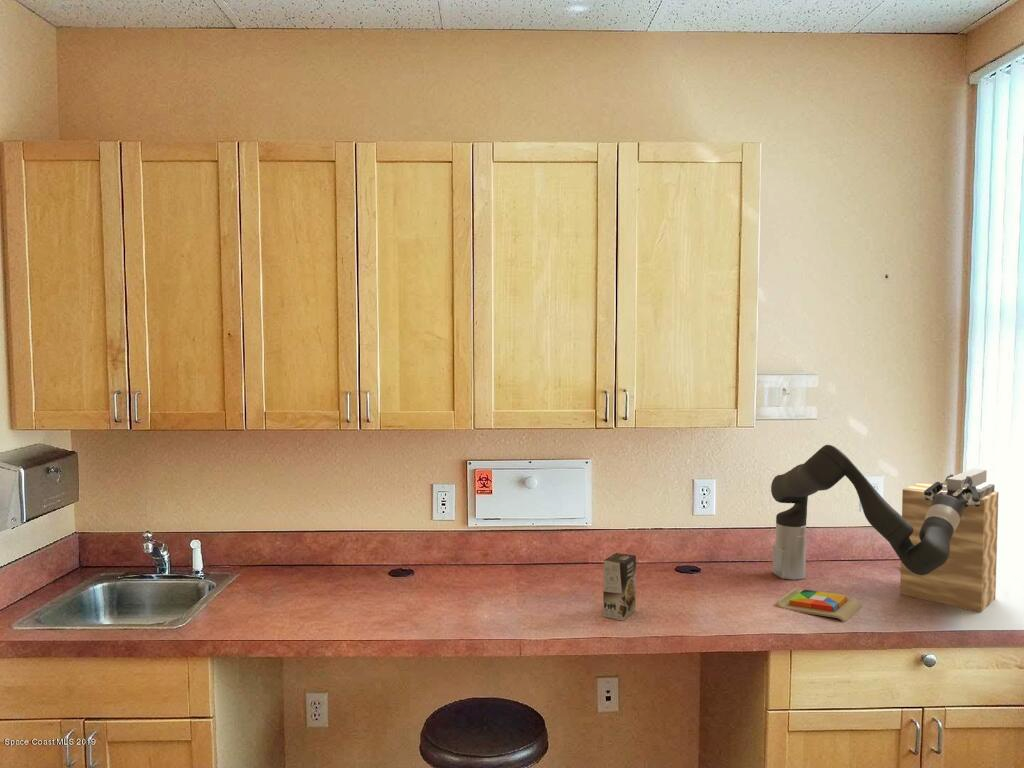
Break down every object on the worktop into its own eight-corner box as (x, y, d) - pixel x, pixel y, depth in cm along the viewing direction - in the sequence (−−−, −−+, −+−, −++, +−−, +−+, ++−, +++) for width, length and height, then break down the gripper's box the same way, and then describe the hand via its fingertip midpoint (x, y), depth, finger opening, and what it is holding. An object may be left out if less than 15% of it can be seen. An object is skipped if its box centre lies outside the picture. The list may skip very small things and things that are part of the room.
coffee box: (623, 621, 193) (624, 563, 192) (602, 616, 197) (602, 559, 196) (636, 611, 201) (636, 555, 200) (615, 606, 204) (615, 551, 204)
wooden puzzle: (796, 592, 217) (797, 581, 217) (863, 607, 205) (863, 595, 205) (775, 608, 204) (775, 596, 204) (844, 624, 192) (845, 612, 192)
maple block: (981, 612, 199) (984, 492, 198) (900, 593, 214) (902, 482, 213) (995, 598, 210) (998, 485, 209) (917, 581, 226) (920, 476, 224)
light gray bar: (961, 492, 193) (961, 480, 193) (946, 491, 196) (947, 478, 196) (986, 481, 211) (986, 470, 211) (972, 480, 214) (973, 468, 213)
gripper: (972, 509, 182) (988, 469, 192) (912, 501, 192) (930, 464, 202) (975, 532, 185) (991, 491, 195) (916, 522, 195) (934, 485, 205)
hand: (960, 477), depth 198 cm, fingers closed on light gray bar, 3 cm apart
